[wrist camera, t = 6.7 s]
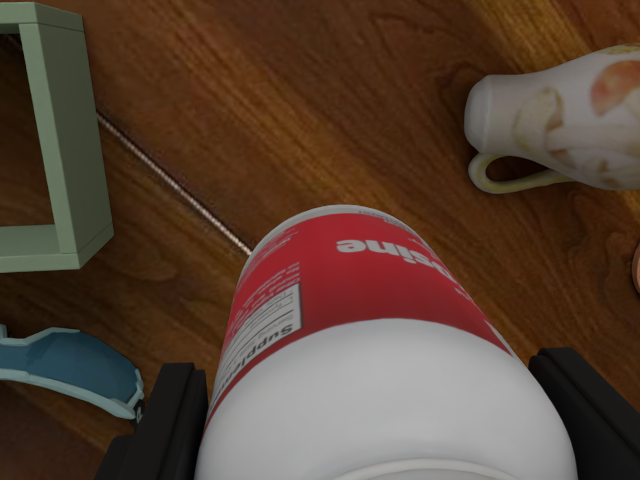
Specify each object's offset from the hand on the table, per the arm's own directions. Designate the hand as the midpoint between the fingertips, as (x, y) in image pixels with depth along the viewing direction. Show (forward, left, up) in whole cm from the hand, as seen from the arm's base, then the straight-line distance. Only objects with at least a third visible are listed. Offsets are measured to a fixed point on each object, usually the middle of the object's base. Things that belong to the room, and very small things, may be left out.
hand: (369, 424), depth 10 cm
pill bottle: (0, 0, -6) cm, 6 cm away
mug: (-4, +13, -21) cm, 25 cm away
